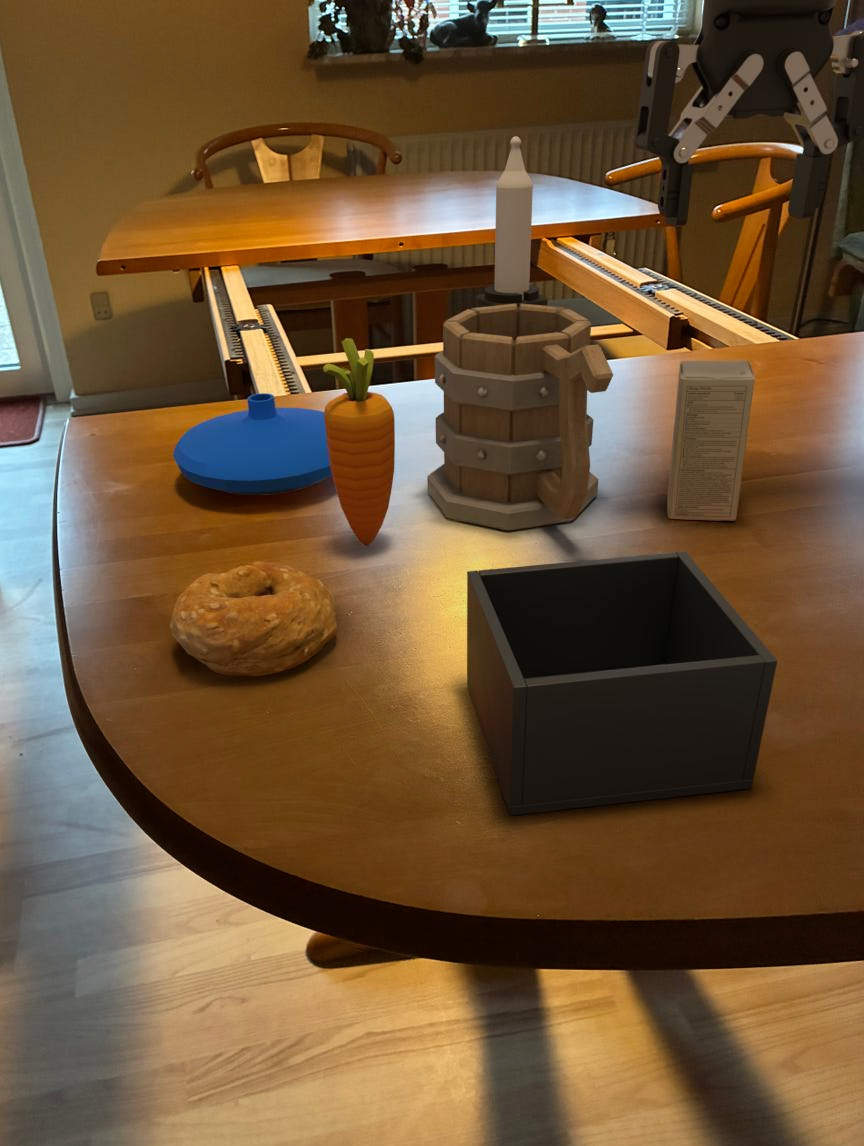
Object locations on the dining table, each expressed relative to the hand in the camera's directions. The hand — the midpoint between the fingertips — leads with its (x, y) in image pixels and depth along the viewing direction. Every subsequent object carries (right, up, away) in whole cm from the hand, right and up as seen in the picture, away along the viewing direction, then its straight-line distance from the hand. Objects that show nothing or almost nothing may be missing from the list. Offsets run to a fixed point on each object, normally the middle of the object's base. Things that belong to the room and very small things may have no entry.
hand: (737, 220), depth 65 cm
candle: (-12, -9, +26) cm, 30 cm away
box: (+1, -18, +11) cm, 21 cm away
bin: (-12, -33, -12) cm, 37 cm away
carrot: (-25, -21, +9) cm, 33 cm away
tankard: (-12, -18, +12) cm, 25 cm away
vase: (-33, -14, +21) cm, 42 cm away
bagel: (-31, -28, -2) cm, 42 cm away
